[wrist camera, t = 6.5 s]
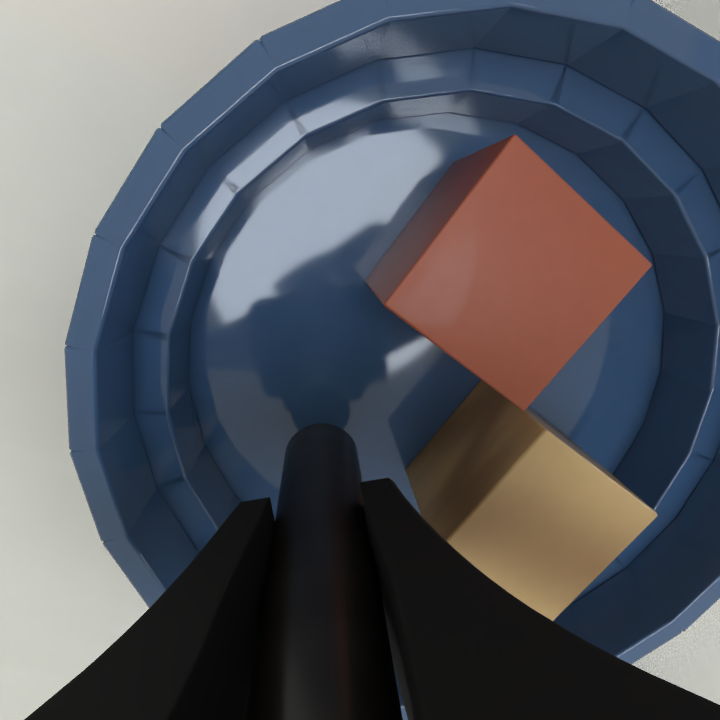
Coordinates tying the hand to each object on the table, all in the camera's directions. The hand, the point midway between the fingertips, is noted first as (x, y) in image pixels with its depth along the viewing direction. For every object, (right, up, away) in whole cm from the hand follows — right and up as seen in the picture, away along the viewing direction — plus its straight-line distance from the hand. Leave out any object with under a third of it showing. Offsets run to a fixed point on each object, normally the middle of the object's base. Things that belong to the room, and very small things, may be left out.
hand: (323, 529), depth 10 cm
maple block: (+5, 0, +5) cm, 7 cm away
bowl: (+3, +3, +5) cm, 6 cm away
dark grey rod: (0, +1, +3) cm, 3 cm away
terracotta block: (+4, +6, +3) cm, 8 cm away
